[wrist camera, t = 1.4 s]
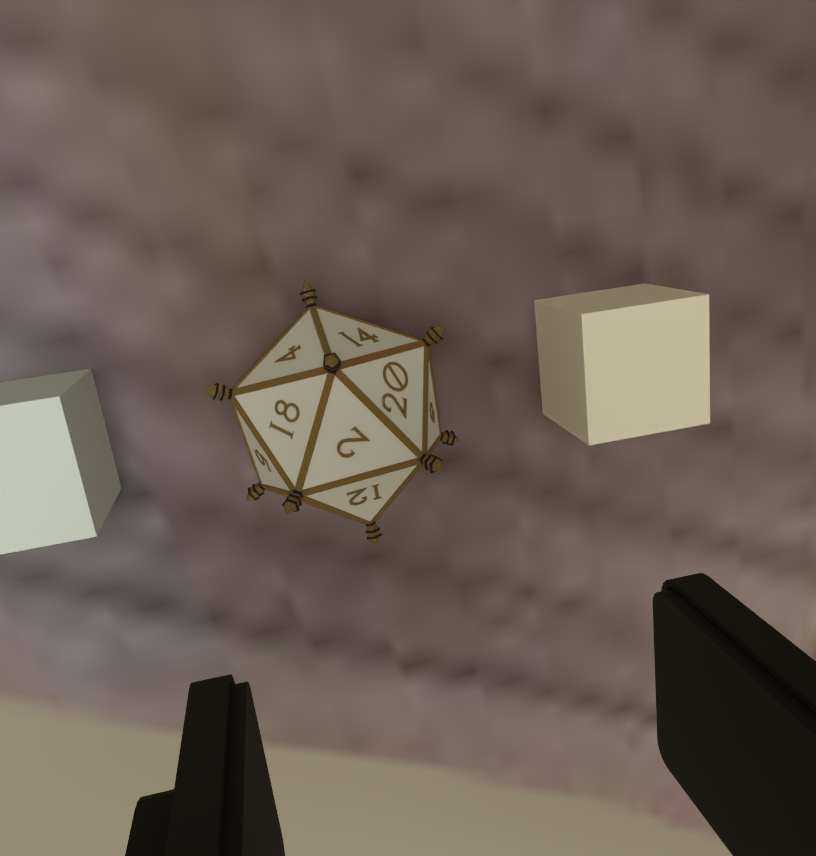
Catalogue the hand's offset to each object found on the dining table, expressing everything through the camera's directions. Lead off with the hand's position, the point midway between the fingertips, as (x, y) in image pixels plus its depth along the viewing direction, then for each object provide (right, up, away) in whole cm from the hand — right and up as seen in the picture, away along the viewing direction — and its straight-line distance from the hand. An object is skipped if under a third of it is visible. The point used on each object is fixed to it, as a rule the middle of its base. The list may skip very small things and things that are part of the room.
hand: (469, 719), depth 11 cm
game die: (-4, +6, +21) cm, 22 cm away
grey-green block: (-15, +4, +19) cm, 25 cm away
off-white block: (+7, +8, +22) cm, 25 cm away
